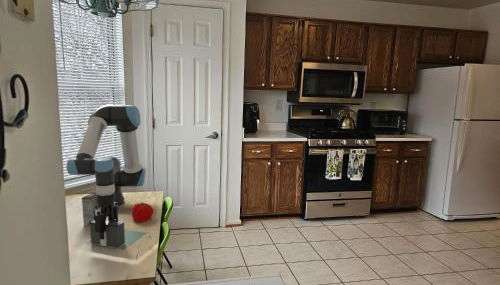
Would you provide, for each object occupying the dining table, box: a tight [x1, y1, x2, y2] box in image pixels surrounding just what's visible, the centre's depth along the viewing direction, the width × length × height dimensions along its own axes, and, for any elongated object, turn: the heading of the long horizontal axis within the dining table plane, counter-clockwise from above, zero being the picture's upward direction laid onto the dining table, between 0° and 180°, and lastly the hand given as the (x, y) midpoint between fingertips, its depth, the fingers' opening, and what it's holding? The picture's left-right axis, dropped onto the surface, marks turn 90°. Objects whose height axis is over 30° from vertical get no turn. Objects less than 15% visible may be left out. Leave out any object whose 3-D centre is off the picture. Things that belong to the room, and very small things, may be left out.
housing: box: [89, 218, 125, 249], centre depth 149 cm, size 5×14×10 cm, turn 75°
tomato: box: [131, 201, 154, 223], centre depth 179 cm, size 11×13×10 cm
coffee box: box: [81, 192, 105, 227], centre depth 172 cm, size 9×6×16 cm
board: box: [86, 228, 147, 251], centre depth 156 cm, size 18×20×6 cm
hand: (108, 242), depth 150 cm, fingers closed on housing, 5 cm apart
